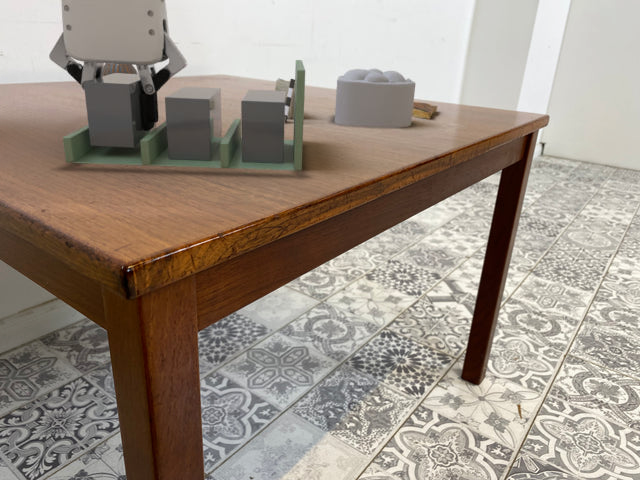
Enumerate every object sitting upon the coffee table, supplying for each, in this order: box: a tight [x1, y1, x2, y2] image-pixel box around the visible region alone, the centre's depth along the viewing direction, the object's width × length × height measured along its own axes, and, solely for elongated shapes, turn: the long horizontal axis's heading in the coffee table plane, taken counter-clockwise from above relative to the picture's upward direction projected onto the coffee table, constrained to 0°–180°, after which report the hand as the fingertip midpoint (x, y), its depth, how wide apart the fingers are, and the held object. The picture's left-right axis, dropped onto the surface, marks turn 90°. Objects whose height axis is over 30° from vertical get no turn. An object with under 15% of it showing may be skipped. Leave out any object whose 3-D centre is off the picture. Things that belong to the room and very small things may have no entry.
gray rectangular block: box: [84, 73, 157, 148], centre depth 58 cm, size 4×10×6 cm, turn 3°
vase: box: [102, 63, 139, 77], centre depth 94 cm, size 7×7×9 cm
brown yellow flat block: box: [412, 101, 438, 120], centre depth 100 cm, size 11×8×2 cm
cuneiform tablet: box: [273, 77, 306, 124], centre depth 89 cm, size 7×4×12 cm
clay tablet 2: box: [240, 88, 286, 163], centre depth 60 cm, size 4×10×6 cm, turn 3°
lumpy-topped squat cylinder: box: [334, 68, 416, 129], centre depth 88 cm, size 10×13×9 cm
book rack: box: [62, 59, 306, 172], centre depth 59 cm, size 24×15×11 cm, turn 93°
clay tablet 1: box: [164, 86, 223, 161], centre depth 59 cm, size 4×10×6 cm, turn 3°
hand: (125, 125), depth 59 cm, fingers closed on gray rectangular block, 4 cm apart
